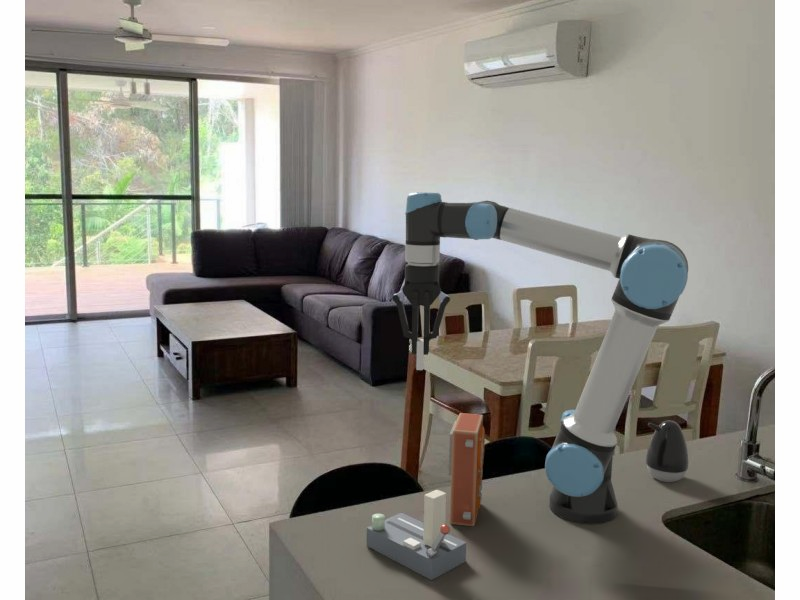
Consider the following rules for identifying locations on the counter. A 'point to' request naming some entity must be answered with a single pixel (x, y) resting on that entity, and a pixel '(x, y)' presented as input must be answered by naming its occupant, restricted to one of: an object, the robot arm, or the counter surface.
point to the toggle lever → (438, 541)
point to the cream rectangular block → (433, 515)
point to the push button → (378, 522)
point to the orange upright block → (466, 468)
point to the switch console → (415, 546)
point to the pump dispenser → (667, 452)
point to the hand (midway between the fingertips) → (419, 368)
